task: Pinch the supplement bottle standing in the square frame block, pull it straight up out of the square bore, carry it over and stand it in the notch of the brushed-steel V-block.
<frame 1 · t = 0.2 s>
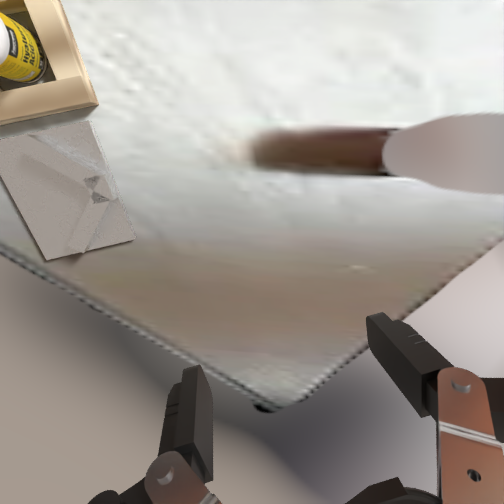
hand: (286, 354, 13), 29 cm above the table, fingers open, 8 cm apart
supplement bottle: (22, 55, 30), resting in square frame block
square frame block: (20, 55, 30), on the table
v block: (65, 195, 36), on the table
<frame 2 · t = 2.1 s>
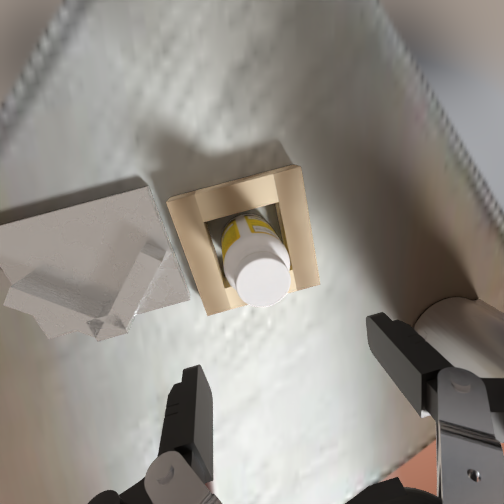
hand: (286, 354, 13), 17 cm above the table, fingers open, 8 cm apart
supplement bottle: (247, 238, 29), resting in square frame block
square frame block: (247, 238, 29), on the table
v block: (95, 260, 27), on the table
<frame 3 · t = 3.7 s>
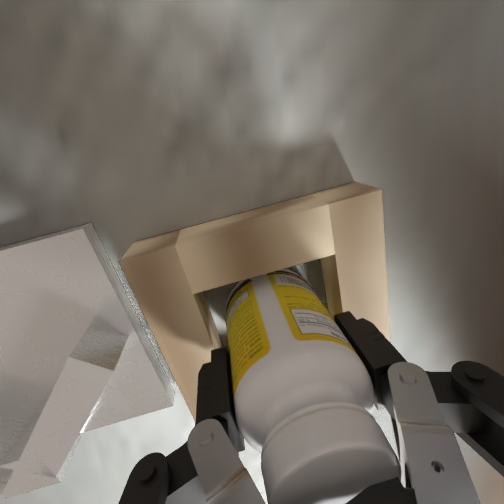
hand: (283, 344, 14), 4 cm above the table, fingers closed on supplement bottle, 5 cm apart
supplement bottle: (269, 303, 17), resting in square frame block, touching gripper
square frame block: (270, 305, 17), on the table
v block: (4, 349, 16), on the table
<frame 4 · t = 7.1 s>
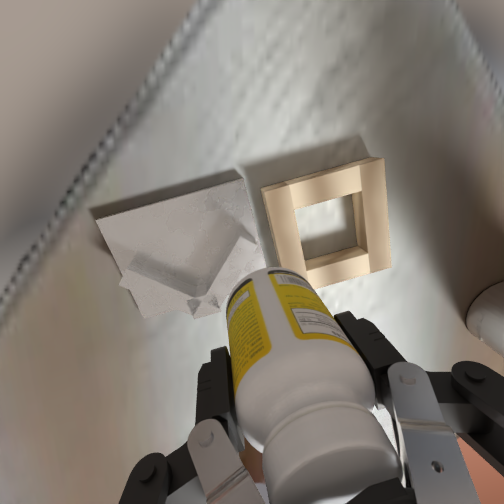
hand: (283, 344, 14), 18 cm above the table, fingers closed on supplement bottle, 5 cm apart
supplement bottle: (269, 303, 17), point 15 cm above the table, touching gripper
square frame block: (324, 226, 31), on the table
v block: (189, 246, 30), on the table
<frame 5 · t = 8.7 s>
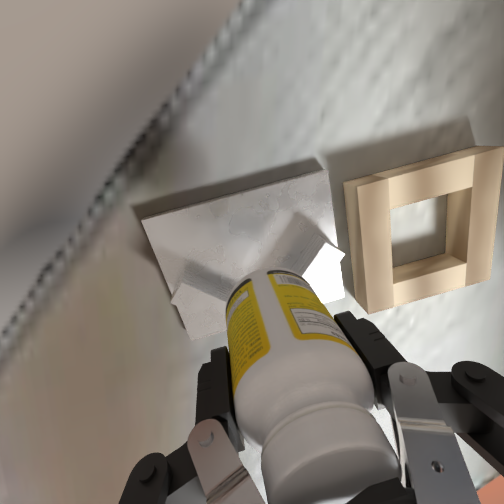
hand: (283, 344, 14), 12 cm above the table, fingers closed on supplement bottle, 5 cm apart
supplement bottle: (269, 303, 17), point 8 cm above the table, touching gripper
square frame block: (411, 229, 26), on the table
v block: (250, 253, 25), on the table
when the fingers open (5 cm above the table, at t = 10.3 s): supplement bottle stays where it is, resting on v block.
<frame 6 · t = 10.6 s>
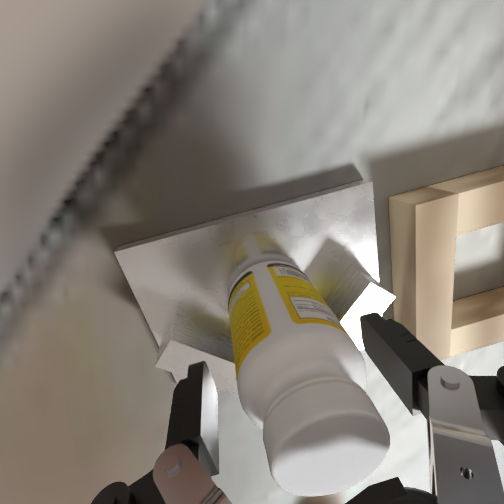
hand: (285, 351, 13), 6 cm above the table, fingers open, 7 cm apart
supplement bottle: (269, 295, 18), point 1 cm above the table, touching v block
square frame block: (471, 256, 20), on the table
v block: (263, 289, 19), on the table
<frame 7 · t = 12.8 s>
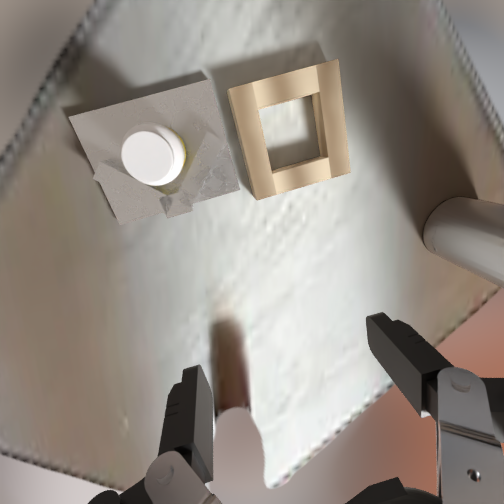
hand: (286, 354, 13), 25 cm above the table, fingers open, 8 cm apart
supplement bottle: (162, 151, 31), point 1 cm above the table, touching v block
square frame block: (288, 134, 34), on the table
v block: (161, 151, 32), on the table
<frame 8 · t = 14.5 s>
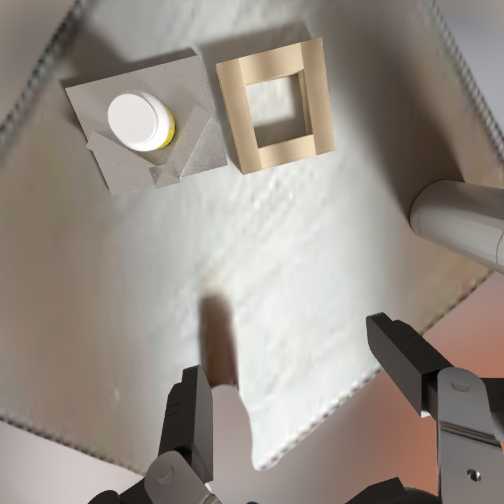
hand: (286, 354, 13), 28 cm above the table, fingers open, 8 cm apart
supplement bottle: (153, 125, 33), point 1 cm above the table, touching v block
square frame block: (275, 112, 35), on the table
v block: (152, 125, 34), on the table
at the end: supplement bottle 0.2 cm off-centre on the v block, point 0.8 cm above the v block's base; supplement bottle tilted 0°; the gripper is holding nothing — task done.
